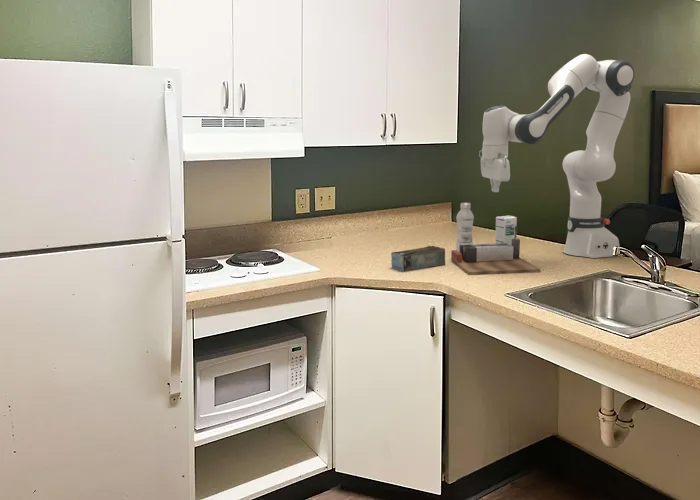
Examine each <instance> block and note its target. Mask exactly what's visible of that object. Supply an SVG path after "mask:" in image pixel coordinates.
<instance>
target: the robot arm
mask: <svg viewBox="0 0 700 500" xmlns="http://www.w3.org/2000/svg"><path fill="white" fill-rule="evenodd" d="M634 79H635V68H634V66H633V64H631V63H630V62H629V61H626V60H624V59H623V60H622V59H617V60H614V59H606V60H599V61H597V60H596V58H595V57H594V56H592V55H590V54H588V53H583V54H579V55H577V56H575V57H574V58H573V59H571V60H569V61H568V62H567V63H566V64H564V65H562V67H561V68H559V69H558V70H557V71H556V72H555V73H554V74H553V75H552V76H551V78H550V79H549V80H548V83H547V90H548V93H549V95H550V98H549V99H548V100H546V102H544V104H543V105H542V106H541V107H540V108H539V109H538V110H537V111H534V112H532V113H529V114H519V113H518V112H514V111H512V110H511V109H509V108H508V107H507V106H506V105H497V106H492V107H489V108H487V109H486V110H485V111H484V113H483V116H482V117H483V118H482V135H483V141H482V149H481V150H479V151H478V153H479V154H478V156H479V157H480V173H481V177H483V178H486V179H489V183H490V186H491V192H492V193H499V192H500V186H501V183H502V182H509V181H510V179H511V165H510V161H509V159H508V157H509V142H513V143H522V144H523V143H524V144H528V145H534V144H538V143H539V142H541V141H542V140H543V139H544V137H545V136H546V134H547V132H548V130H549V128H550V126H551V125H552V124H553V123H554V121H556V119H557V118H558V117H559V116H560V115H561V114H562V113H563V112H564V111H565V110H566V109H567V108H568V106H569V105H570V104H571V102H572V101H573V100H574V99H575V98H576V97H577V96H578V95H579V94H580V93H581V92H582V91H583V90H586V91H589V92H599V100H598V103H597V105H596V107H595V109H594V111H593V113H592V116H591V118H590V121H589V123H588V126H587V128H586V131H585V134H586V137H587V142H586V146H585V147H586V148H585V150H582V149H581V150H575V151H572V152H569V153H568V154H566V155H565V156H564V158H563V160H562V170H563V172H564V173H565V175H566V179H567V184H568V189H569V194H570V195H569V196H570V197H569V198H570V199H569V200H570V201H569V216H568V219H567V235H566V241H565V244H564V248H563V251H562V252H563V253H564V254H566V255H570V256H576V257H585V258H591V259H598V258H608V257H614V256H613V247H614V246H618V247H619V248H620V241H619V238H618V236H616V235H615V234H614V233H612V232H611V231H610V230H609V229H607V227H605V225H610V224H611V221H610V219H609V218H603V217H601V211H602V195H601V193H600V192H599V190H598V187H597V183H599V182H605V181H607V180H609V179H611V178H612V177H613V176H614V174H615V172H616V168H617V165H616V164H617V163H616V160H615V159H614V158H615V157H614V153H615V146H616V141H617V138H618V136H619V134H620V131H621V130H622V129H621V128H622V126H623V124H624V122H625V120H626V116H627V114H628V111H629V108H630V107H629V106H630V103H631V98H632V97H631V96H632V95H631V93H630V90H631V88H632V85H633V82H634ZM619 256H620V257H621V256H624V255H623V254H620V255H618V256H617V257H619Z"/></svg>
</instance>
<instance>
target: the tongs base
mask: <svg viewBox="0 0 700 500" xmlns="http://www.w3.org/2000/svg"><path fill="white" fill-rule="evenodd" d="M501 245H509V244H507V243H498V244H495V243H479V244H478V243H475V244H474V243H473V244H471V245H470V244H465V245H460V247H459V252H458V251H457V250H456V249H451V251H450V252H451V256H450V257H451V259H450V261H451V262H452V263H454V265H456V266H457V267H458V269H459V268H460V269H461V270H462V271H463V272H464V273H465V274H467V276H471V275H472V276H474V275H475V276H476V275H497V274H519V273H520V274H521V273H526V274H527V273H540V272H541V268H539V267H537V266H535V265H534V264H532V263H531V262H529V261H527V260H525V259H523V258H522V257H520V251H521V239H520V238H516V239H512V243H511V245H512V246H513V260H499V261H477V262H465V261H463V247H472V246H474V247H477V246H501Z"/></svg>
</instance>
